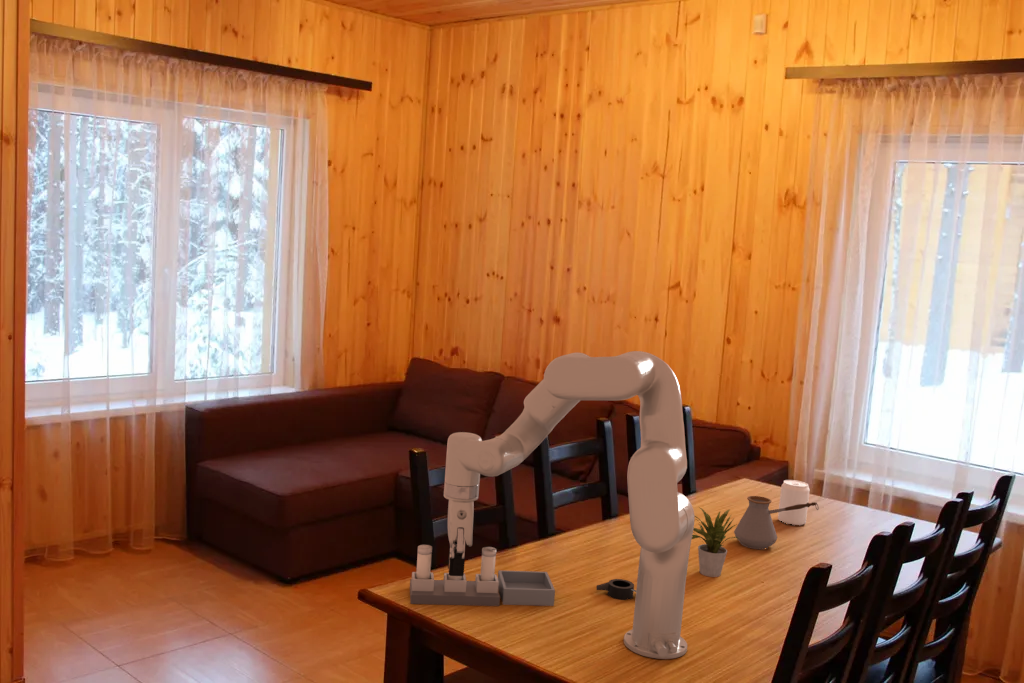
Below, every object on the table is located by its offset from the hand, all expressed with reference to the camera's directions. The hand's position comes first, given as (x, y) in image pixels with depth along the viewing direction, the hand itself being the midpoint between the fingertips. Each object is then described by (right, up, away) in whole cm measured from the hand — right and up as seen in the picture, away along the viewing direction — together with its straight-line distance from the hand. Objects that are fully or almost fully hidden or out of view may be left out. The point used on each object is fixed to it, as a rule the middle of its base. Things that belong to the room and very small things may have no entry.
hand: (455, 571), depth 213 cm
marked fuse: (0, -4, 0) cm, 4 cm away
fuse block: (0, -6, +1) cm, 6 cm away
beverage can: (+96, -4, +78) cm, 124 cm away
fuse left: (-7, -3, 0) cm, 8 cm away
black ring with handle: (+37, -8, +9) cm, 39 cm away
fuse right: (+7, -4, +1) cm, 8 cm away
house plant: (+61, -7, +30) cm, 69 cm away
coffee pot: (+83, -6, +52) cm, 98 cm away
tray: (+15, -6, +5) cm, 17 cm away
